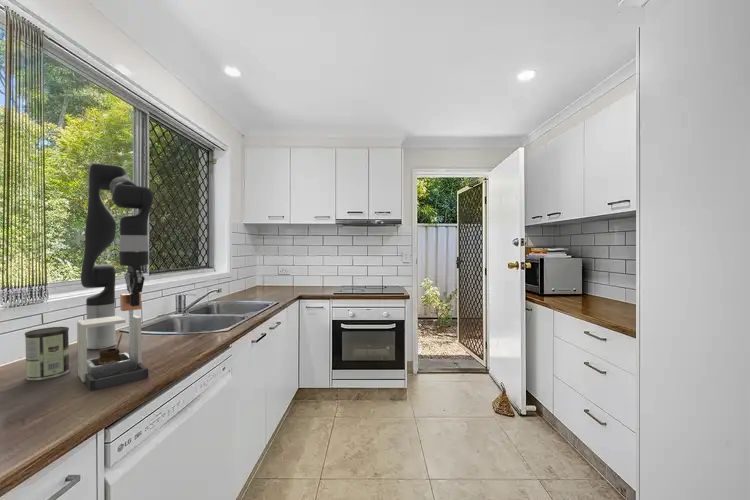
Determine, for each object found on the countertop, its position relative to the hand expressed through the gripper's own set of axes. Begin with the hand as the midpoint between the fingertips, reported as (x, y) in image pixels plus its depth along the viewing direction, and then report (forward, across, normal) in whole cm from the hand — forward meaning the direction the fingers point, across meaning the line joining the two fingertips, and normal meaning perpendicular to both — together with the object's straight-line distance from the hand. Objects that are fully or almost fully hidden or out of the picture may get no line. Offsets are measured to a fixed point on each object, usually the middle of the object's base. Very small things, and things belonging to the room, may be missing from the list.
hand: (134, 305), depth 112 cm
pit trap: (+22, 0, -5) cm, 22 cm away
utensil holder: (+22, -10, -5) cm, 25 cm away
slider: (+21, -9, -4) cm, 23 cm away
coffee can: (+22, -22, -19) cm, 36 cm away
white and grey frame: (+22, -10, -5) cm, 24 cm away
